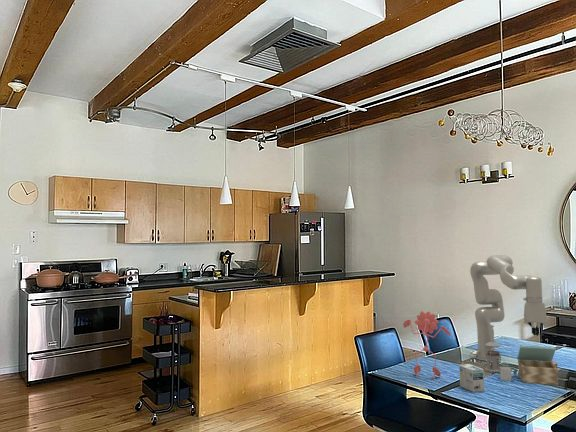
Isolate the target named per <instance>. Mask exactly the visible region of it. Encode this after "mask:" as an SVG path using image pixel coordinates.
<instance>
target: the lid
mask: <svg viewBox="0 0 576 432" xmlns="http://www.w3.org/2000/svg"><path fill="white" fill-rule="evenodd" d="M556 350H557V348H556V347H552V346H551V347H550V346H538V345H537V346H535V345H534V346H532V345H520V347H519V348H518V354H517V361H518V360H529V361H547V362H551V361H553V358H554V355H555V352H556Z"/></svg>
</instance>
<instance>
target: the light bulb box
mask: <svg viewBox="0 0 576 432" xmlns="http://www.w3.org/2000/svg"><path fill="white" fill-rule="evenodd" d="M458 367H459V386H460V387H462V388H463V389H466V390H468V391H470V392H472V393H479V392H484V391H486V390H485V369H484V368H482V367H478V366H475V365H474V364H472V363H466V364H459V366H458Z"/></svg>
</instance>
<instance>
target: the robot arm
mask: <svg viewBox="0 0 576 432" xmlns="http://www.w3.org/2000/svg"><path fill="white" fill-rule="evenodd" d="M513 264H514V263H513V259H512V258H511V257H510V256H509V255H507V254H506V255H505V254H504V255H501V254H498V255H491V256H488V258H487V259H486V261H483V260H481V261H476V262H473V263H472V264H471V266H470V269H469V270H470V271H469V272H470V276H471V280H472V282H473V290H474V296H475V302H476V303H477V304H478V305H482V307H481V306H480V307H477V309H475V311H474V317H475V322H476V329H477V330H476V331H477V332H476V334H477V335H476V336H477V350H475V351H473V350H470V351H469V353H470V355H474V356H475V358H476V359H477V360H480V361H484V362H486V361H487V360H486V353H487V352H486V351H488V349H489V350H491V349H492V351H496V350H495V347H488V346H486V345H485V344H486V343H488V342H495V331H494V327H490V326H491V325H492V324H491V323H500V322H503V321H504V319H505V308H504V301H503V296H502V293H501V292H500V290H498V289H495V288H490V287H489V282H488V279H487V278H486V277H485V276H495V275H499V278H500V281H501V282H502V284H503V285H505V287H506V288H507V287H508V288H509V289H511V290H516V291H517V290H525V294H526V295H525V297H523V298H522V299H523V301H525V302H524V308H523V318H524V319H523V324H526V325H529V326H530V327H531V334H532V335H533V336H534V337H535V336H538V337H539V334H540V328H541V327H543V326H544V325H547V324H548V322H547V310H546V305H545V302H543V285H542V282H543V280H542V278H541V277H540V276H531V275H528V274H527V275H525V274H524V275H513V273H514V265H513ZM487 305H488V306H487ZM489 305H491V306H489ZM534 323H536V326H535V324H534ZM492 329H493V341H492ZM491 358H492V357H491ZM490 360H492V359H490Z"/></svg>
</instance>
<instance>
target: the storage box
mask: <svg viewBox="0 0 576 432" xmlns="http://www.w3.org/2000/svg"><path fill="white" fill-rule="evenodd" d="M517 368H518V376H519V378H520V380H521V381H522V383H524V384H526V383H527V384H538V385H552V386H559V371H558V369H557V368H558V367H557V368H556V367H555V366H554V365H553V363H552V362H545V361H531V360H518V359H517Z"/></svg>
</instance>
